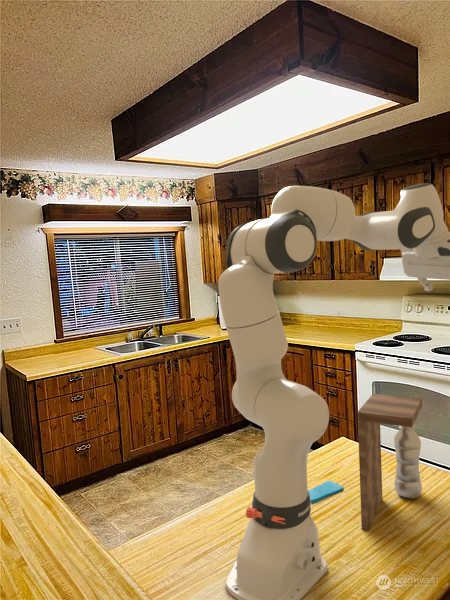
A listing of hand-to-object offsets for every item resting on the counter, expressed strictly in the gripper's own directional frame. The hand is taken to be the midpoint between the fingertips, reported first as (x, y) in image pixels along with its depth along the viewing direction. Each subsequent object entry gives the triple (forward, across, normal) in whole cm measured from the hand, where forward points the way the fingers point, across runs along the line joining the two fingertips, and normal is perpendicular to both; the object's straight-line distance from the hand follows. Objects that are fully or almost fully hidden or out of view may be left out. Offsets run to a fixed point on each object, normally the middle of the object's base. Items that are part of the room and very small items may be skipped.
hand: (444, 291), depth 119 cm
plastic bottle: (+42, +3, -34) cm, 55 cm away
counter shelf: (+38, +8, -44) cm, 59 cm away
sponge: (+36, -11, -51) cm, 64 cm away
